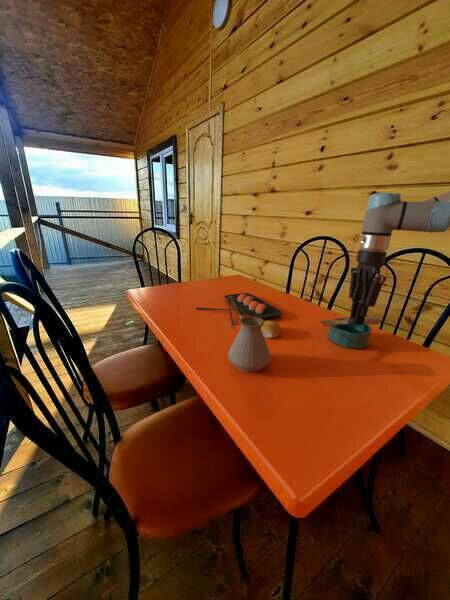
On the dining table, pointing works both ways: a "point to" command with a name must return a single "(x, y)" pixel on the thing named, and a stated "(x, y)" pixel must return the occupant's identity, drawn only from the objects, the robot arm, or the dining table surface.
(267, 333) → the bread roll
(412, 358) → the dining table surface
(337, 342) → the bowl
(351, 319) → the fork
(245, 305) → the sushi plate
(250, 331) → the coffee pot
